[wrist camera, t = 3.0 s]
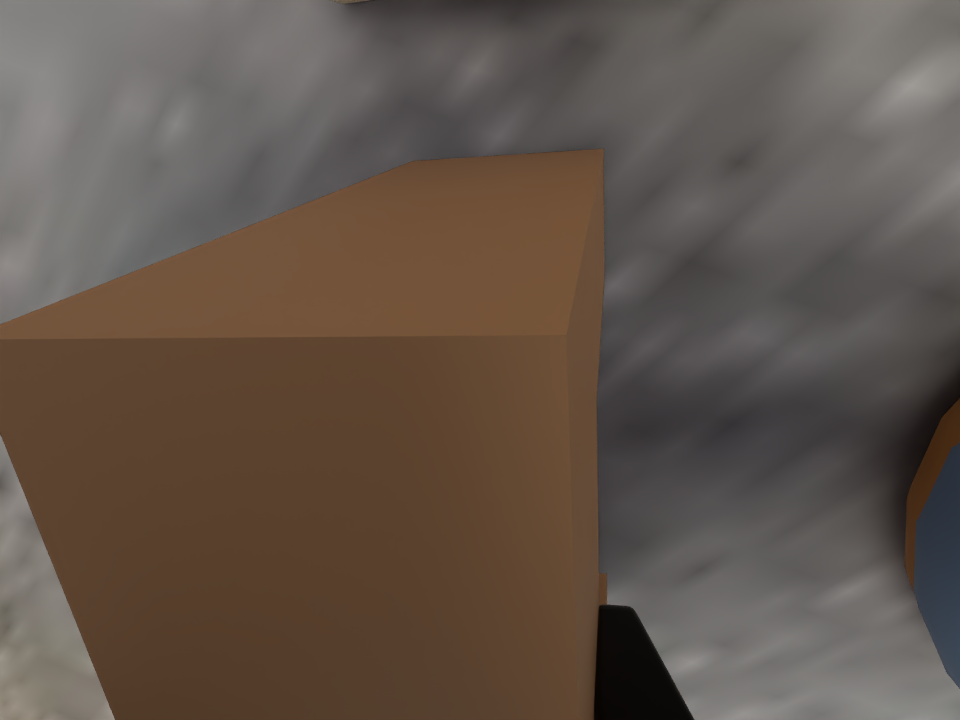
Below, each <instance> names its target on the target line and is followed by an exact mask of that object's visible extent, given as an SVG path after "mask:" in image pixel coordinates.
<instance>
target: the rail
mask: <svg viewBox="0 0 960 720" xmlns="http://www.w3.org/2000/svg"><path fill="white" fill-rule="evenodd" d="M331 1H335V2H338V3H342V4H345V3H354V2H362V1H371V0H331Z"/></svg>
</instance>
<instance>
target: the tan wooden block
mask: <svg viewBox="0 0 960 720" xmlns="http://www.w3.org/2000/svg"><path fill="white" fill-rule="evenodd" d="M604 279H605V261H604V149H591V150H576V151H560V152H545V153H529V154H514V155H498V156H483V157H467V158H452V159H436V160H421V161H412V162H409V163H407V164H404V165H402V166H399V167H396V168H394V169H391V170H389V171H386V172H384V173H381V174H379V175H376V176H374V177H371V178H369V179H366V180H364V181H361V182H359V183H356V184H354V185H351V186H349V187H346V188H344V189H341V190H339V191H336V192H333V193H331V194H328V195H326V196H323V197H321V198H318V199H316V200H313V201H311V202H308V203H306V204H303V205H301V206H298V207H296V208H293V209H291V210H288V211H286V212H283V213H281V214H278V215H275V216H273V217H270V218H268V219H265V220H263V221H260V222H258V223H255V224H253V225H250V226H248V227H245V228H243V229H240V230H238V231H235V232H233V233H230V234H228V235H225V236H223V237H220V238H217V239H215V240H212V241H210V242H207V243H205V244H202V245H200V246H197V247H195V248H192V249H190V250H187V251H185V252H182V253H180V254H177V255H175V256H172V257H170V258H167V259H165V260H162V261H159V262H157V263H154V264H152V265H149V266H147V267H144V268H142V269H139V270H137V271H134V272H132V273H129V274H127V275H124V276H122V277H119V278H117V279H114V280H112V281H109V282H107V283H104V284H101V285H99V286H96V287H94V288H91V289H89V290H86V291H84V292H81V293H79V294H76V295H74V296H71V297H69V298H66V299H64V300H61V301H59V302H56V303H54V304H51V305H49V306H46V307H43V308H41V309H38V310H36V311H33V312H31V313H28V314H26V315H23V316H21V317H18V318H16V319H13V320H11V321H8V322H6V323H3V324H1V325H0V434H1V437H2V439H3V442H4V444H5V447H6V449H7V452H8V454H9V457H10V459H11V462H12V464H13V467H14V469H15V472H16V474H17V477H18V479H19V482H20V484H21V487H22V489H23V492H24V494H25V496H26V499H27V501H28V504H29V506H30V509H31V511H32V514H33V516H34V519H35V521H36V524H37V526H38V529H39V531H40V534H41V536H42V539H43V541H44V544H45V546H46V549H47V551H48V554H49V556H50V559H51V561H52V564H53V566H54V569H55V571H56V574H57V576H58V579H59V581H60V584H61V586H62V589H63V591H64V594H65V596H66V599H67V601H68V603H69V606H70V608H71V611H72V613H73V616H74V618H75V621H76V623H77V626H78V628H79V631H80V633H81V636H82V638H83V641H84V643H85V646H86V648H87V651H88V653H89V656H90V658H91V661H92V663H93V666H94V668H95V671H96V673H97V676H98V678H99V681H100V683H101V686H102V688H103V691H104V693H105V696H106V698H107V701H108V703H109V706H110V708H111V710H112V713H113V715H114V718H115V720H594V696H595V673H596V652H597V632H598V611H599V605H601V604H606V605H607V574H602V573H599V538H598V462H597V387H598V372H599V356H600V341H601V326H602V310H603V295H604Z"/></svg>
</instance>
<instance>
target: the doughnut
mask: <svg viewBox="0 0 960 720" xmlns="http://www.w3.org/2000/svg"><path fill="white" fill-rule="evenodd" d="M905 569H906V572H907V575H908V578H909V581H910V585H911V587H912V589H913V592H914V594H915V597H916V600H917V603H918V606H919V609H920V612H921V614H922V616H923V619H924V621H925V623H926V626H927V628H928V630H929V633H930V635H931V637H932V640H933V642H934V644H935V647H936V649H937V651H938V653H939V656H940V658H941V660H942V663H943V665H944V667H945V670H946V672H947V674H948V675H949V676H950V677H951V678H952V680H953V681H954V682H955V683H956V685H957V686H958V687H959V688H960V398H959V399H958V400H957V401H956V402H955V404H954V405H953V406H952V407H951V408H950V409H949V410H948V411H947V412H946V413H945V414H944V416H943V417H942V418H941V420H940V422H939V424H938V427H937V429H936V431H935V433H934V435H933V438H932V440H931V442H930V444H929V446H928V449H927V451H926V453H925V455H924V457H923V460H922V462H921V464H920V466H919V469H918V471H917V473H916V475H915V477H914V480H913V482H912V484H911V487H910V490H909V493H908V496H907V510H906V542H905Z"/></svg>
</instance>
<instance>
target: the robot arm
mask: <svg viewBox="0 0 960 720" xmlns="http://www.w3.org/2000/svg"><path fill="white" fill-rule="evenodd" d="M594 720H694V718H693V716H692V714H691V713H690V711H689V709H688V707H687V705H686V703H685V701H684V700H683V698H682V696H681V694H680V692H679V690H678V689H677V687H676V685H675V683H674V681H673V679H672V678H671V676H670V674H669V672H668V670H667V668H666V667H665V665H664V663H663V661H662V659H661V657H660V655H659V654H658V652H657V650H656V648H655V646H654V644H653V643H652V641H651V639H650V637H649V635H648V633H647V632H646V630H645V628H644V626H643V624H642V622H641V621H640V619H639V617H638V615H637V613H636V612H635V610H634V609H633V608H631V607H629V606H619V605H606V604H601V605H599V611H598V632H597V652H596V673H595V696H594Z"/></svg>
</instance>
